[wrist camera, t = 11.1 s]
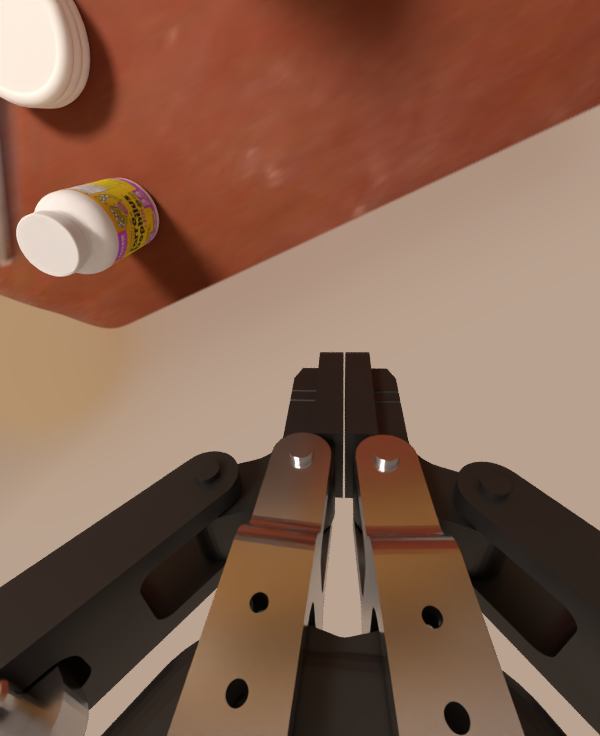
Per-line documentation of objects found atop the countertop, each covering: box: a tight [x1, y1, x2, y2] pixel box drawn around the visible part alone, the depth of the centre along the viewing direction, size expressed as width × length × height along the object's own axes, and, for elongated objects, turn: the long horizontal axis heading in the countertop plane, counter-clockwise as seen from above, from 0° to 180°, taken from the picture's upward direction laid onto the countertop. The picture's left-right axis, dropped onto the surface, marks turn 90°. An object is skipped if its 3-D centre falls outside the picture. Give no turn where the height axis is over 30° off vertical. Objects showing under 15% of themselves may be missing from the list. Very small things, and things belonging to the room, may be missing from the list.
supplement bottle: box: [16, 178, 159, 277], centre depth 33 cm, size 7×7×13 cm
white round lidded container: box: [0, 0, 90, 109], centre depth 29 cm, size 10×10×4 cm
